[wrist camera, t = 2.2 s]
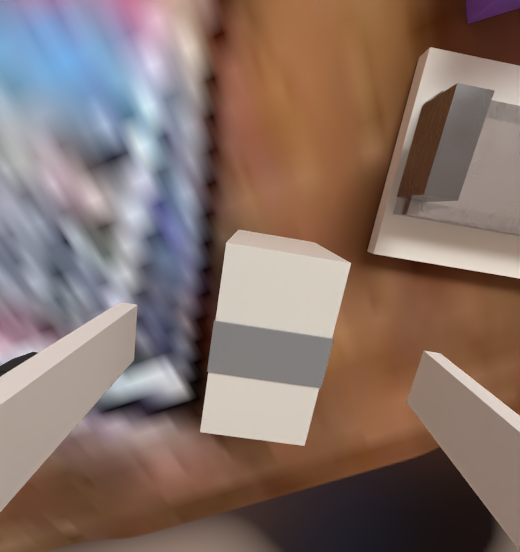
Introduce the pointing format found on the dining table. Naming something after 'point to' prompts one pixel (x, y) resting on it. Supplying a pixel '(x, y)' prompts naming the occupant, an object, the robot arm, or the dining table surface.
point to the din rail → (490, 173)
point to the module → (271, 336)
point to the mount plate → (394, 228)
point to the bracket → (488, 8)
